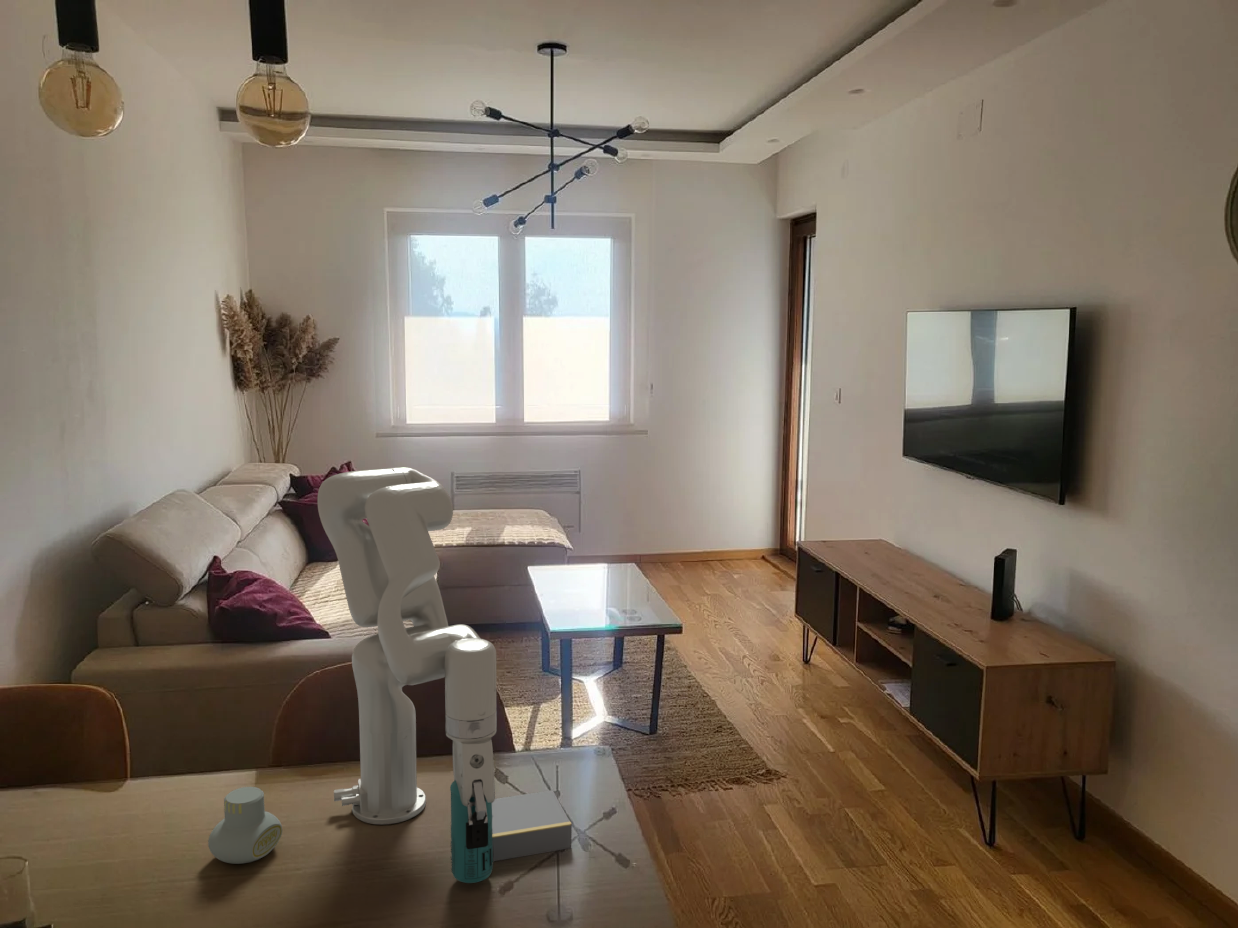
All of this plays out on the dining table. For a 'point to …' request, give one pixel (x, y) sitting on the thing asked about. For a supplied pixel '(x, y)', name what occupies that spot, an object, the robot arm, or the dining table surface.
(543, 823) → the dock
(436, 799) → the dining table surface
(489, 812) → the beverage bottle
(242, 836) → the air freshener
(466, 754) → the robot arm
